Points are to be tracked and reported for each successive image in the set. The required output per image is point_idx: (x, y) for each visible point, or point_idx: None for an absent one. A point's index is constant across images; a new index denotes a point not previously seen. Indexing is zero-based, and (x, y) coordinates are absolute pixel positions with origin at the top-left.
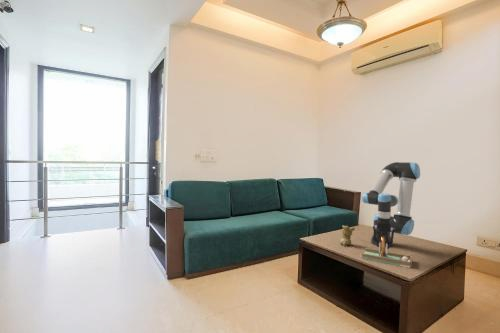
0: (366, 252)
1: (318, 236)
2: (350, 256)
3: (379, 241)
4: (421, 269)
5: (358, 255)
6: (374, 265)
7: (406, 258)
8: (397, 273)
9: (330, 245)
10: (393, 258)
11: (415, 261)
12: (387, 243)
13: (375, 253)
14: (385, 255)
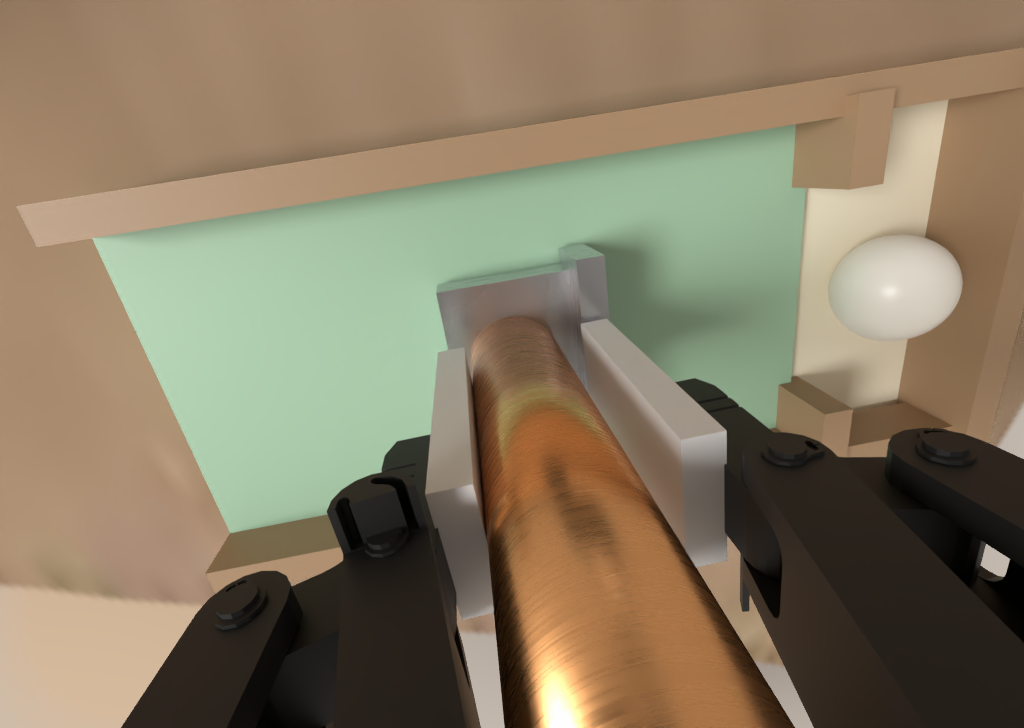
0: (166, 309)
1: None
2: (80, 580)
3: (444, 581)
4: (1015, 359)
5: (131, 459)
6: (491, 626)
7: (935, 324)
8: (745, 643)
9: None
10: (683, 279)
11: (1014, 38)
12: (749, 594)
13: (330, 234)
14: (567, 356)
